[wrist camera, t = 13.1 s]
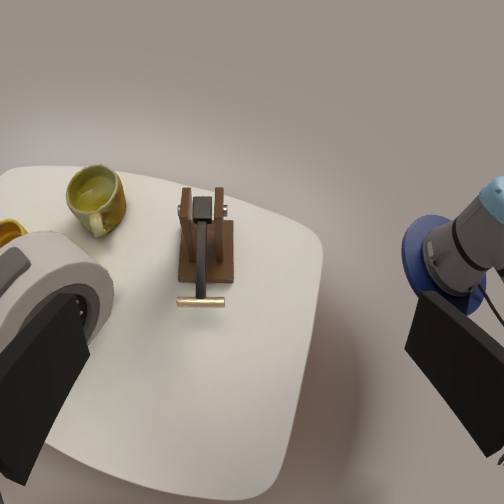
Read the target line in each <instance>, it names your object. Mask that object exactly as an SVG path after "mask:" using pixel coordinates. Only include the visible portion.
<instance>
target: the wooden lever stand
mask: <svg viewBox="0 0 504 504" xmlns="http://www.w3.org/2000/svg"><path fill="white" fill-rule="evenodd" d="M223 192H224V189H223V188H215V205H214V220H212V224H207V244H206V282H215V283H233V281H234V266H233V220H223V216H227V205H223ZM192 215H193V202H192V194H191V188H183V189H182V197H181V205H178V216H179V219H180V224H181V228H182V233H181V245H180V257H179V270H178V281H179V282H196V251H197V224H194V222H193V219H192Z"/></svg>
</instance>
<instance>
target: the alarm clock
mask: <svg viewBox="0 0 504 504" xmlns="http://www.w3.org/2000/svg"><path fill="white" fill-rule="evenodd" d="M58 293H74V294H75V295H76V300H77V305H78V309H79V314H80V318H81V322H82V326H83V330H84V334H85V338H86V342H87V345H89V343H90V342H91V341H92V339H93V338H94V337H95V335H96V334H97V332H98V331H99V330H100V328H101V327H102V326H103V324H104V323H105V321H106V320H107V319H108V317H109V316H110V313H111V310H112V305H113V297H114V290H113V281H112V279H111V277H110V275H109V273H108V271H107V270H106V269H105V268H104V267H102V266H101V265H100V264H99V263H98V262H96V261H95V260H94V259H93V258H91V257H90V256H89V255H88V254H87V253H85V252H84V251H83V250H82V249H81V248H79V247H78V246H77V245H76V244H75V243H74V242H72V241H71V240H70V239H69V238H68V237H66V236H65V235H63V234H60V233H57V232H53V231H37V232H31V233H28V234H26V235H23V236H20V237H18V238H15V239H13V240H12V241H10V242H9V243H8V244H6V245H5V246H3V247H2V248H0V353H1V352H2V351H3V350H4V349H5V347H6V346H7V345H8V344H9V343H10V342H11V341H12V340H13V339H14V338H15V336H16V335H17V334H18V333H19V332H20V331H21V330H22V329H23V328H24V327H25V326H26V325H27V324H28V323H29V322H30V321H31V320H32V319H33V318H34V317H35V315H36V314H37V313H38V312H39V311H40V310H41V309H42V308H43V307H44V306H45V305H46V304H47V303H48V302H49V301H50V300H52V299H53V298H54V297H55V296H56V295H57V294H58Z"/></svg>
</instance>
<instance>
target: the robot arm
mask: <svg viewBox="0 0 504 504" xmlns="http://www.w3.org/2000/svg"><path fill="white" fill-rule="evenodd" d="M421 258H422V263H423V266H424V269H425V271H426V273H427V275H428V277H429V279H430V280H431V282H432V283H433V284H434V286H435V287H436V288H437V289H438V290H440V291H441V292H442V293H444V294H445V295H447V296H449V297H453V298H461V297H464V296H466V295H468V294H469V293H471V292H472V291H473V290H474V289H475V288H476V287H477V286H478V288H479V289H480V291H481V292H482V294H483V295H484V297H485V299H486V300H487V302H488V304H489V305H490V307H491V309H492V310H493V312H494V313H495V315H496V317H497V318H498V320H499V321H500V322H501V324H502V325H503V326H504V321H503V320H502V318H501V317H500V315H499V314H498V312H497V311H496V309H495V308H494V306H493V304H492V303H491V301H490V299H489V297H488V296H487V294H486V292H485V291H484V289H483V287H482V286H481V284H480V283H479V282H480V281H481V279H482V278H483V276H484V275H485V273H486V272H487V270H489V269H490V268H492V267H494V268H495V269H496V271H497V273H498V274H499V276H500V277H501V279H502V281H503V283H504V177H503V176H501V177H497V178H495V179H493V180H492V181H491V182H490V183H489V184H488V185H487V186H486V187H484V188H483V189H481V191H480V192H479V195H478V196H477V197H476V198H475V199H474V200H473V201H472V202H471V204H469V206H468V207H467V208H466V209H465V210H464V211H463V212H462V213H461V214H460V215H459V216H458V217H457V218H456V219H455V220H453V221H451V222H448V223H446V224H443V225H441V226H438V227H436V228H434V229H433V230H431V231H430V232H429V233H428V234H427V235H426V236H425V238H424V240H423V242H422V246H421ZM405 350H406V352H407V353H408V354H409V355H410V357H411V358H412V359H413V360H414V361H415V363H416V364H417V365H418V367H419V368H420V369H421V370H422V372H423V373H424V374H425V375H426V377H427V378H428V379H429V380H430V382H431V383H432V384H433V386H434V387H435V388H436V389H437V391H438V392H439V393H440V395H441V396H442V397H443V399H444V400H445V401H446V402H447V404H448V405H449V407H450V408H451V409H452V410H453V412H454V413H455V415H456V416H457V417H458V419H459V420H460V421H461V423H462V424H463V425H464V427H465V428H466V430H467V431H468V432H469V434H470V435H471V437H472V438H473V439H474V441H475V442H476V444H477V445H478V446H479V448H480V449H481V450H482V452H483V453H484V455H485V456H486V458H487V457H489V456H491V455H492V454H494V453H496V452H497V451H499V450H500V449H501V448H502V447H503V446H504V348H503V346H501V345H500V344H499V343H498V342H497V341H496V340H494V339H493V338H492V337H491V336H489V334H487V333H486V332H485V331H484V330H483V329H482V328H480V327H479V326H478V325H477V324H476V323H474V322H473V321H472V320H471V319H469V318H468V317H467V316H466V315H465V314H463V313H462V312H461V311H460V310H458V309H457V308H456V307H455V306H453V305H452V304H451V303H449V302H448V301H447V300H446V299H444V298H443V297H442V296H440V295H439V294H438V293H437V292H435V291H423V292H420V295H419V299H418V303H417V307H416V311H415V314H414V318H413V322H412V325H411V329H410V332H409V335H408V339H407V342H406V345H405ZM89 356H90V353H89V349H88V345H87V342H86V338H85V334H84V330H83V326H82V322H81V318H80V314H79V309H78V305H77V300H76V295H75V294H74V293H58V294H57V295H56V296H55V297H54V298H53V299H52V300H50V301H49V302H48V303H47V304H46V305H45V306H44V307H43V308H42V309H41V310H40V311H39V312H38V313H37V314H36V315H35V317H34V318H33V319H32V320H31V321H30V322H29V323H28V324H27V325H26V326H25V327H24V328H23V329H22V330H21V331H20V332H19V333H18V334H17V335H16V336H15V338H14V339H13V340H12V341H11V342H10V343H9V344H8V345H7V346H6V347H5V349H4V350H3V351H2V352H1V353H0V472H1V473H2V474H3V475H4V477H5V478H7V479H10V480H12V481H14V482H16V483H18V484H21V485H23V486H25V485H26V482H27V480H28V477H29V475H30V473H31V470H32V468H33V466H34V464H35V461H36V459H37V457H38V455H39V453H40V450H41V448H42V446H43V444H44V442H45V440H46V438H47V436H48V433H49V431H50V429H51V427H52V425H53V423H54V421H55V419H56V417H57V415H58V413H59V411H60V409H61V407H62V405H63V404H64V402H65V400H66V398H67V396H68V394H69V392H70V390H71V388H72V387H73V385H74V383H75V381H76V379H77V377H78V376H79V374H80V372H81V370H82V369H83V367H84V365H85V363H86V361H87V360H88V358H89ZM503 461H504V454H503V455H502V457H501V458H500V459H499V461H498V465H500V464H501V463H502V462H503ZM0 504H4V502H3V499H2V496H1V493H0Z"/></svg>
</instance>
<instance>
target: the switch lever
mask: <svg viewBox="0 0 504 504" xmlns="http://www.w3.org/2000/svg"><path fill="white" fill-rule="evenodd" d="M192 219H193V222H194V224H197V251H196V297H177V307H225V297H206V244H207V224H212V197H193V215H192Z"/></svg>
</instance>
